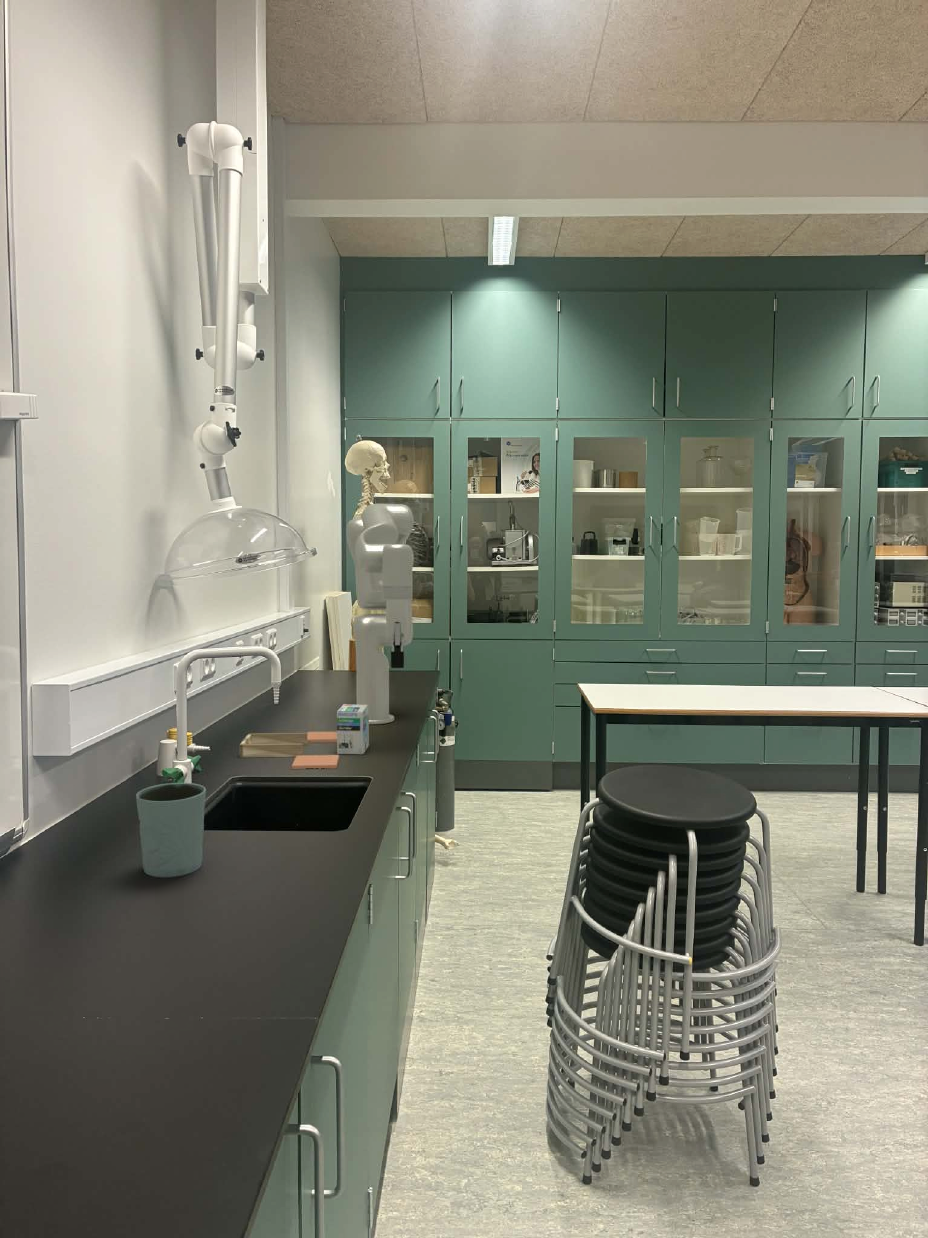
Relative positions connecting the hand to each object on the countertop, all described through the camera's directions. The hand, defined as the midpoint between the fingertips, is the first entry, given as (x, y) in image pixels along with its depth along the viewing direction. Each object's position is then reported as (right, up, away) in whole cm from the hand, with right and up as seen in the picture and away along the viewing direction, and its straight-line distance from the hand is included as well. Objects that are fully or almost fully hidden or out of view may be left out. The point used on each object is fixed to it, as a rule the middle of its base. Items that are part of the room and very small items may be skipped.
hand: (397, 667), depth 211 cm
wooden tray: (-30, -21, -1) cm, 37 cm away
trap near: (-18, -22, -14) cm, 31 cm away
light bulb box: (-11, -21, +1) cm, 24 cm away
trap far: (-20, -20, +14) cm, 31 cm away
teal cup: (-28, -26, -81) cm, 90 cm away
